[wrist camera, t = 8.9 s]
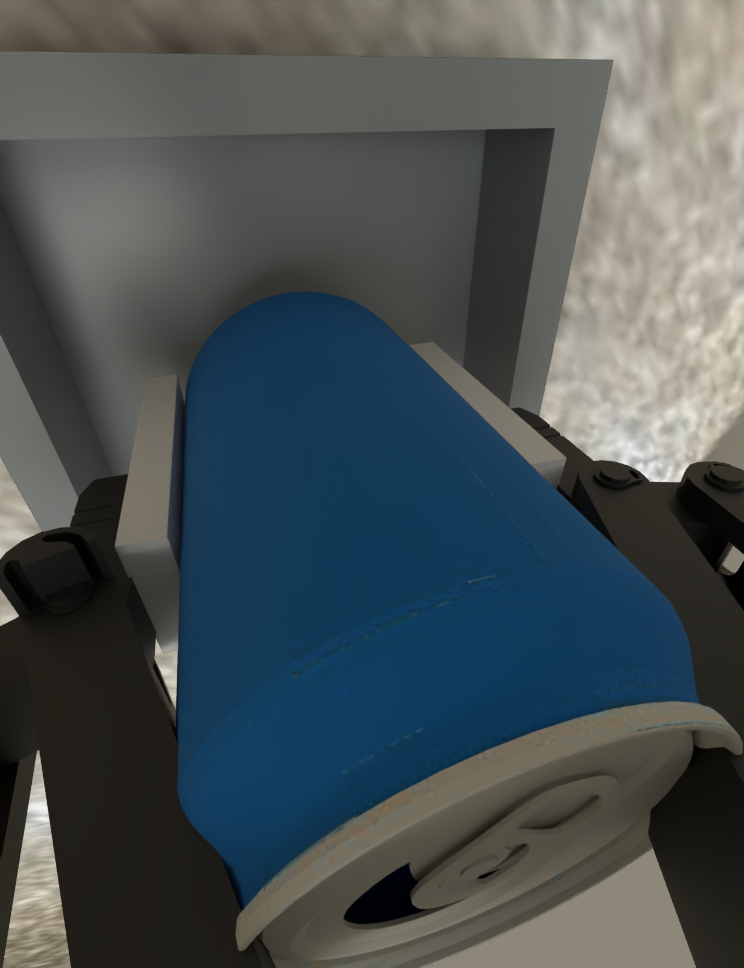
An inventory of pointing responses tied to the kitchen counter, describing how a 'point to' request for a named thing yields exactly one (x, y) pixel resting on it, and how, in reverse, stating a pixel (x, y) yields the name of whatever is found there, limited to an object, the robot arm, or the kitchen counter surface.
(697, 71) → the kitchen counter surface
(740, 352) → the kitchen counter surface
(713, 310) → the kitchen counter surface
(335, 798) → the beverage can
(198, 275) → the bin
